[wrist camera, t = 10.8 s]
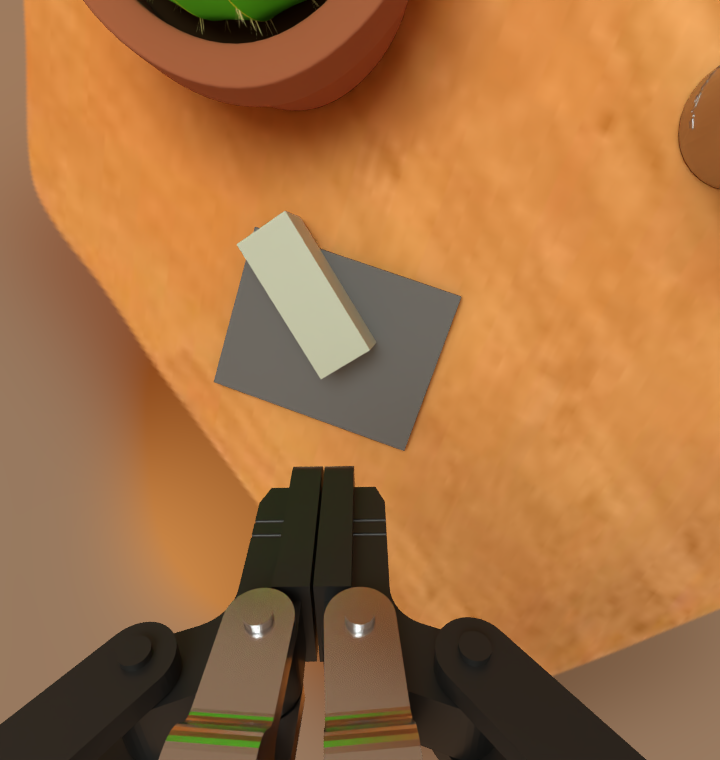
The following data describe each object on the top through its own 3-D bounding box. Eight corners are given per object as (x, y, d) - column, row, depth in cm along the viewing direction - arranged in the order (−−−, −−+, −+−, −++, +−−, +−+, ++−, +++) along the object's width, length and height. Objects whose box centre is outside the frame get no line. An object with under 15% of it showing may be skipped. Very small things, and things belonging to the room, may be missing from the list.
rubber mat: (460, 296, 43) (461, 296, 42) (404, 447, 46) (404, 450, 45) (258, 227, 44) (254, 226, 43) (218, 379, 48) (213, 381, 47)
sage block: (369, 350, 39) (285, 210, 38) (320, 379, 40) (236, 244, 39) (376, 342, 44) (300, 216, 43) (332, 368, 45) (256, 247, 44)
